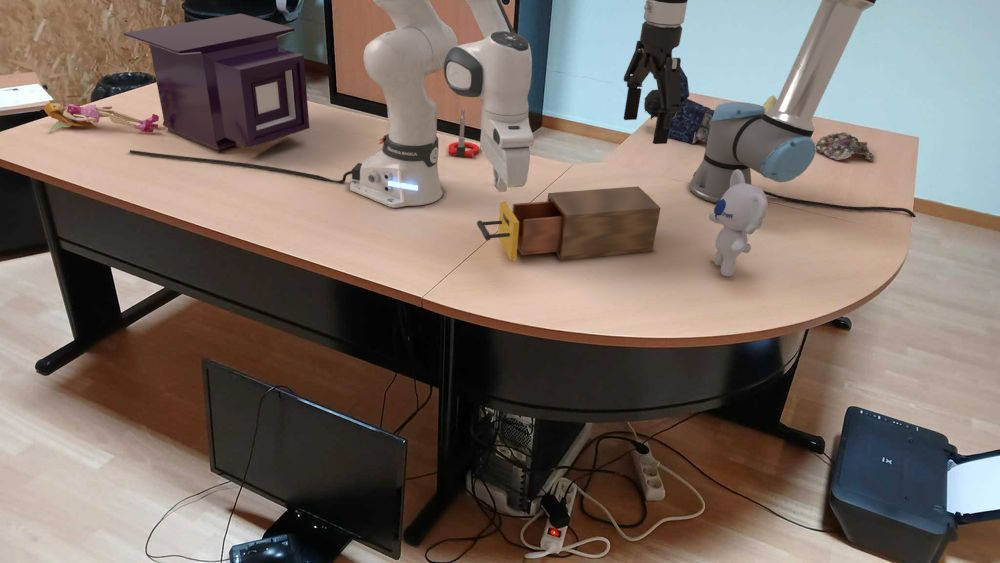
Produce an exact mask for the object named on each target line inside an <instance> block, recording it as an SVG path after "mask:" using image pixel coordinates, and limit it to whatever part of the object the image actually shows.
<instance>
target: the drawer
mask: <svg viewBox="0 0 1000 563" xmlns="http://www.w3.org/2000/svg"><path fill="white" fill-rule="evenodd" d="M563 224H564V217H563V215H562V214H561V213H560V212H559V210H558V209H557V208H556V206H555V205H554V204H553V203H552V201H547V200H546V201H545V200H544V201H531V202H519V203H518V202H517V203H513V204H512V209H511V207H510V206H509V204H508V203H507V202H506V201H500V202H499V213H498V220H489V221H483V220H480V219H479V220H477V222H476V225H477V227H478V229H479V231H480V232H481V235H482V236H483V238H484V239H485V241H490V240H491V239H498V241H499V242H500V244H501V246H502V247H503V249H504V251H505V253H506V254H507V256H508V257H509V259H510V260H511V261H515V260H517V255H518V254H517V253H518V251H519V253H520V255H521V256H527V255H528V256H529V255H537V254H538V255H539V254H547V253H548V254H550V253H555V252H560V249H561V241H562V232H563ZM494 225H498V226H497V227H498V228H497V229H498V230H497V233H492V234H490V232H489V231H488V229H487V227H486V226H494Z"/></svg>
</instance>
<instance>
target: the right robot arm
mask: <svg viewBox="0 0 1000 563" xmlns="http://www.w3.org/2000/svg"><path fill="white" fill-rule="evenodd" d="M688 1H689V0H645V5H644V6H643V9H644V13H643V19H644V22H643V23H641V31H640V37H639V40H637V41H636V43H635V44H636V45H635V49H634V53H633V55H632V57H631V59H630V62H629V64H628V67H627V69H626V71H625V73H624V76H623V82H625V83H626V87H627V94H626V100H625V105H624V106H625V108H624V114H623V120H624V121H635V120H638V113H639V107H640V102H641V96H642V91H643V90H642V88H643V82H644V81H645V80H646V78H647V77H648V76H649V75H650V73H651V74H652V76H653V79H654V80H655V81H656V87H657V90H658V93H659V99H660V104H661V109H660V110H658V116H657V117H656V122H655V128H654V133H653V139H652V143H653V145H663V144H668V139H669V137H668V135H669V129H670V126H671V121H672V116H673V113H674V112H680V111H681V92H680V66H681V64H682V63H681V62H682V59H681V57H673V50H674V49H675V48H677V47H679V46H680V44H681V40H682V39H681V38H682V33H683V27H682V24H684V23H685V17H686V12H687V5H688ZM876 2H877V0H821V2H820V4H819V6H818V8H817V11H816V12H815V14H814V17H813V20H812V22H811V24H810V26H809V28H808V29H807V33H806V35H805V38H804V39H803V41H802V44H801V46H800V49H799V50H798V53H797V55H796V57H795V60H794V62H793V64H792V66H791V68H790V71H789V73H788V75H787V78H786V80H785V82H784V84H783V86H782V88H781V90H780V93H779V95H778V98H777V102H776V104H775V106H774V107H773V108H772V109H769V110H767V111H765V108H764V107H763V105H760V104H757V103H751V102H743V101H740V102H739V101H731V102H722V103H720V104H718V105H716V107H715V109H714V115H713V118H712V119H711V125H710V130H709V135H708V140H707V142H706V145H705V150H704V154H703V159H702V161H701V163H700V165H699V166H698V168H697V169H696V171H695V172H693V175H692V179H691V181H690V184H689V189H690V191H691V193H693V194H694V196H696V197H698V198H700V199H702V200H704V201H707V202H710V203H713V204H715V203H716V202H717V200H719V199H720V200H721V198H722V197H723V195H724V194H725V193H726V191H727V190H728V189H729V188H730V179H731V175H732V173H733V172H734V171H735V170H737V169H739V170H740V171H741V172H742V173H743V175H744V179H745V183H746V184H750V185H753V184H752V174H751V170H753V171H754V172H756V173H758V174H760V175H761V176H762V177H764V178H765V179H769V180H772V181H773V182H776V183H787V182H790V181H793V180H794V179H796V178H797V177H799V176H801V175H802V174H803V173H804V172H805V171H806V170H807V169H808V167H810V165H811V163H812V162H813V160H814V158H815V154H816V143H815V141H814V140H813V139H812V136H813V134H814V132H815V126H814V123H813V117H814V115H815V113H816V111H817V109H818V107H819V105H820V102H821V101H822V99H823V97H824V94H825V93H826V90H827V88H828V86H829V84H830V82H831V80H832V78H833V75H834V73H835V71H836V69H837V67H838V65H839V63H840V60H841V58H842V57H843V54H844V51H845V50H846V48H847V45H848V44H849V42H850V39H851V37H852V35H853V33H854V30H855V29H856V26H857V24H858V22H859V20H860V18H861V16H862V14H863V13H864V12H865V11H866V10H868V9H870V8H872V7H874V6H875V4H876ZM664 72H665V73H664ZM675 105H676V106H675ZM763 192H764V193H765V195H766V196H769V197H773V198H775V199H779V200H784V201H788V202H794V203H797V204H798V203H800V204H805V205H814V206H820V207H827V208H833V209H841V210H849V211H850V210H851V211H888V212H903V213H907V214H908V215H910V217H912V218H916V217H917V216H916V214H915V213H914V212H913V211H912V210H910V209H908V208H904V207H890V206H889V207H888V206H852V205H841V204H836V203H835V204H834V203H828V202H820V201H815V200H814V201H813V200H806V199H801V198H800V199H799V198H793V197H789V196H783V195H780V194H776V193H773V192H770V191H766V190H763ZM720 200H719V201H720ZM719 201H718V202H719Z"/></svg>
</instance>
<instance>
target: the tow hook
mask: <svg viewBox="0 0 1000 563" xmlns="http://www.w3.org/2000/svg"><path fill="white" fill-rule="evenodd" d="M465 124H466V116H465V108H461V116H460V122H459V136H458V141H456V142H452V143H450V144H449V145H448V155H451V156H452V155H453V156H457V157H467V158H473V157H474V155H475V154H478V153H479V152H480V145H478V144H476V143H473V142H467V141H466V138H465V127H466V126H465ZM467 147H468V148H471V149H468V150H466V148H467Z"/></svg>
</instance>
